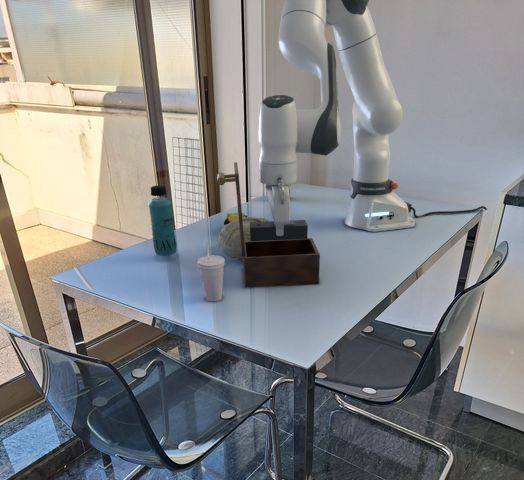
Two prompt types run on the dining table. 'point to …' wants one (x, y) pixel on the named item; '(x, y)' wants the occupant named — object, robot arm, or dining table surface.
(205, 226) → the dining table surface
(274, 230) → the remote
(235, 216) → the gadget
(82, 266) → the dining table surface
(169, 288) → the dining table surface
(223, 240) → the decorative shell
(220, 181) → the lid
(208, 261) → the smoothie
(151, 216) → the beverage bottle
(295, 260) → the chest
